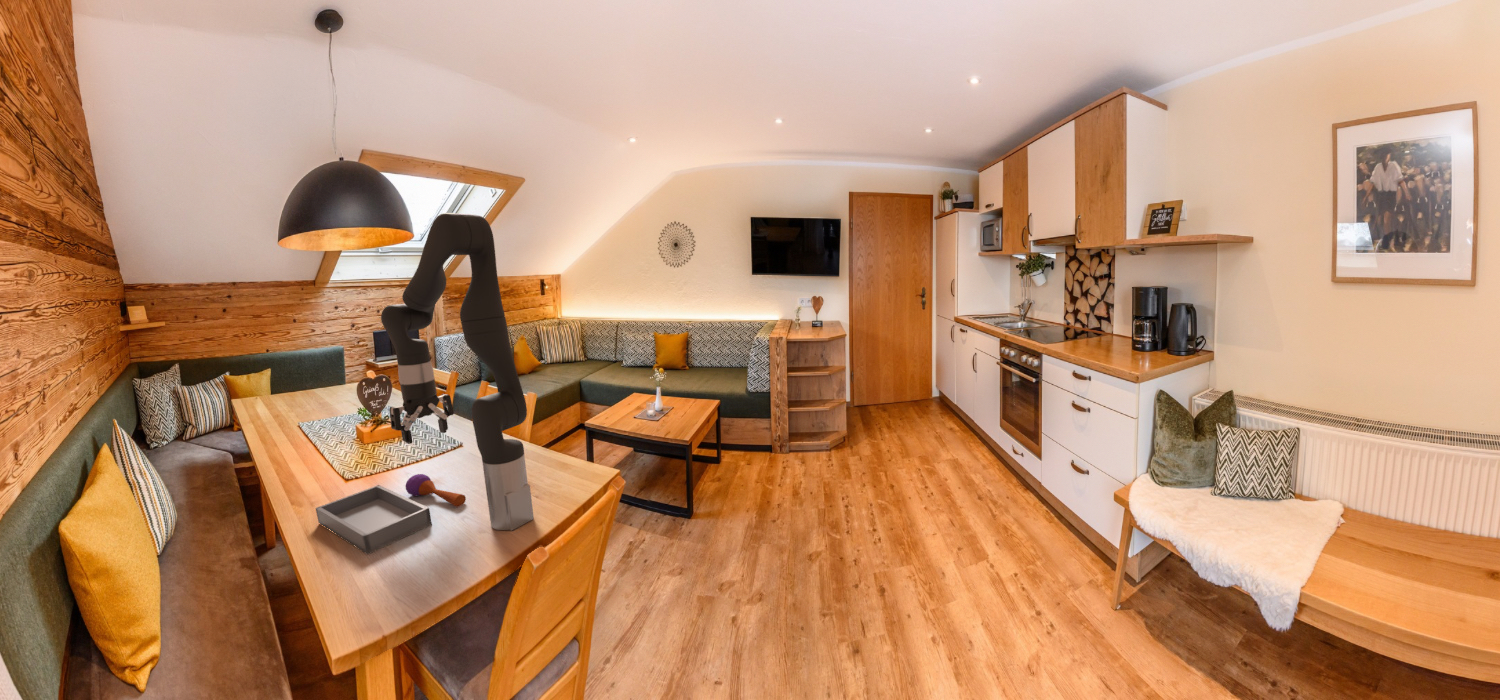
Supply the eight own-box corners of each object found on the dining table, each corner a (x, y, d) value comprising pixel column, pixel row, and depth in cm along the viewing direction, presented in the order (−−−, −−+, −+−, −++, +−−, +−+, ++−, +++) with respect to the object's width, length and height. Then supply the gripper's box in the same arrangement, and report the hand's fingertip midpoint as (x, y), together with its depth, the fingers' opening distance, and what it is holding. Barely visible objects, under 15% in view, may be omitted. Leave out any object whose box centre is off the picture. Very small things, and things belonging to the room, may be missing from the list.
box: (431, 524, 118) (429, 508, 117) (367, 554, 106) (363, 536, 105) (381, 499, 130) (378, 484, 129) (319, 524, 119) (315, 508, 118)
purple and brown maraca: (446, 499, 123) (397, 480, 130) (452, 516, 125) (404, 497, 133) (467, 485, 128) (419, 467, 135) (472, 502, 130) (425, 484, 138)
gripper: (393, 387, 116) (404, 449, 119) (453, 374, 128) (461, 431, 131) (378, 384, 120) (389, 444, 123) (438, 371, 132) (446, 426, 135)
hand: (426, 437), depth 127 cm, fingers open, 8 cm apart
